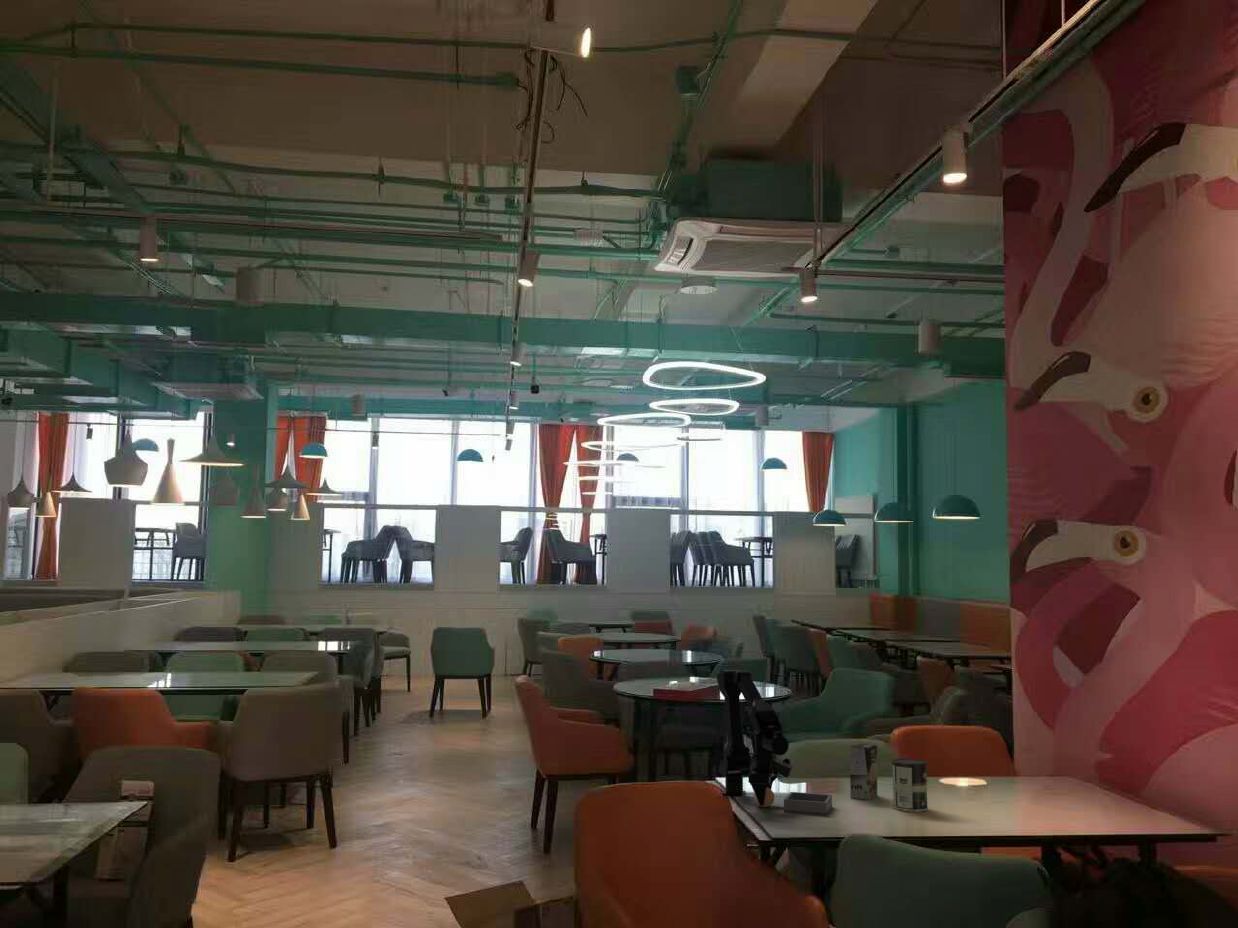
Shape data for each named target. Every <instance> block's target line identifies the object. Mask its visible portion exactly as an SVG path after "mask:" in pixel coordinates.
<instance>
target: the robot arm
mask: <svg viewBox="0 0 1238 928" xmlns="http://www.w3.org/2000/svg"><path fill="white" fill-rule="evenodd" d="M716 681H717V683H718V684H717V685H718V690H719V692H720V693H721V695H722V697H724V709H725V721H726V733H727V743H726V746H725V748H724V749H723V758H722V760H721V762H720V764H719V766H718V771H719V775H721V776H725V778H724V779H725V780H724V781H725V785H724V786H725V787H724V791H723V792H725V793H726V794H727V796H735V797H736V796H739V797H743V796H744V795H745V794H746V793H747V791H746V790H744V775H745V776H746V775H747V776H748V778H747V779H748V781H747V782H748V783H749V785H751V787H752V790H753V792H754V796H755V795H756V797H757V799H758V802H759V804H760V805H761V806H763V805H764V801H765V794H766V788H767V787H768V788H770V789H771V790H772V788H773V783H774V782H775V781H776V780H777V779H778V777H779V775H781V776H783V777H784V778H789V777H790V775H791V773H792V770H793V767H794V765H793V764H792V762H791V759H789V758H787V757H785V758H784V759H783V760H782V759H777V756H783V755H784V756H785V754H786V753H787V752H788V749H789V746H790V745H789V741H788V739H787V738H786V737H785V736H784V733H783V729H782V727H783V726H782V723H781V722H780V719H779V717H778V714H777V712H776V710H775V709H774V707H773V706H772V705H771V704H769V703H768V702H766V701H765V700H764V699H763V696H762V695H761V693H760V692H759V690H758V688H757V686H756V684H755V682H754V680H753V679H752V673H751V672H750V671H749V670H740V669H721V670H720V671H719V673H717V675H716ZM741 695H742V696H743V697H744V700H745V702H746V703H747V705H748V708H749V711H750V712H749V715H748V716H749V719H750V722H751V725H752V726H753V730H752V731H751V733H752V734H753V735H754V753H753V759H754V767H753V768H752V769H753V771H752V772H750V769H751V763H752V760H751V753H750V752H751V751H750V750H751V749H750V747H749V746H746V744H745V742H744V740H743V725H742V715H741V714H742V713H741V703H740V702H741V701H740V696H741ZM774 774H775V775H774ZM761 806H760V807H761Z"/></svg>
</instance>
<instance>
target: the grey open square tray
mask: <svg viewBox="0 0 1238 928" xmlns="http://www.w3.org/2000/svg"><path fill="white" fill-rule="evenodd" d="M832 807H833V795H832V794H824V793H812V792H811V793H809V792H798V791H790V792H789V793H788V795H786V797H785V798H784V799H783V812H784V813H794V812H795V813H796V814H798V813H799V814H809V815H821V816H827V815H828V813H829V812H830V811H831V809H832ZM795 813H794V814H795Z"/></svg>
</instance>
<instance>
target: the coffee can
mask: <svg viewBox="0 0 1238 928" xmlns="http://www.w3.org/2000/svg"><path fill="white" fill-rule="evenodd" d="M891 764H892V765H891V766H892V768H891V769H892V797H893V799H892V801H893V804H892V805H893V807H894V808H895V809H894V808H893V807H892V808H893V809H894V810H897V809H898V810H897V811H900V810H903V812H907V811H909V813H910V812H911V813H922V812H926V811H928V784H927V783H928V779H927V778H928V777H927V776H928V775H927V774H928V773H927V764H928V763H927V761H925V760H923V759H914V758H895V759H892V760H891Z"/></svg>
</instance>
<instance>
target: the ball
mask: <svg viewBox="0 0 1238 928" xmlns="http://www.w3.org/2000/svg"><path fill="white" fill-rule="evenodd" d="M774 801H775V794H774V791H773V790H772V788H771V789H770V788H768V787H767V788H766V794H765V801H764V805H763V806H761V805H760V804H759V802H758V799H757V797H756V795H755V794H754V802H755V803H756V804H757V806H760V807H762V808H769V807H771V806H772V805H773V803H774Z"/></svg>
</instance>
